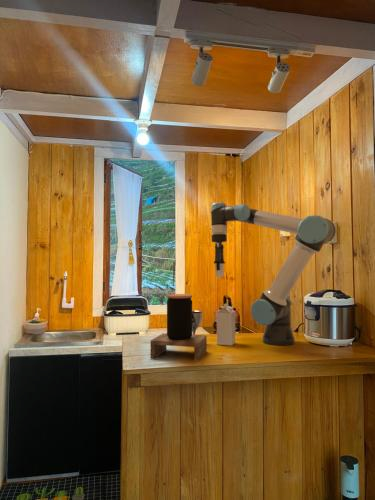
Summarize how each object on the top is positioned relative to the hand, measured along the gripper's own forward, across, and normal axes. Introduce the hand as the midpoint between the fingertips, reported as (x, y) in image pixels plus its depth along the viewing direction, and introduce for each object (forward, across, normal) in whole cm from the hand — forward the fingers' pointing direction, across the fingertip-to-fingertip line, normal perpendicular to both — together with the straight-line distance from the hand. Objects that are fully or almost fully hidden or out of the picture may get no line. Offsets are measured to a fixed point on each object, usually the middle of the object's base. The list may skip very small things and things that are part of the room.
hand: (219, 276), depth 184 cm
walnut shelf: (+31, +30, -15) cm, 46 cm away
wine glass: (+32, +8, -12) cm, 35 cm away
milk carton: (+32, +6, +3) cm, 33 cm away
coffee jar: (+25, +30, -15) cm, 42 cm away
